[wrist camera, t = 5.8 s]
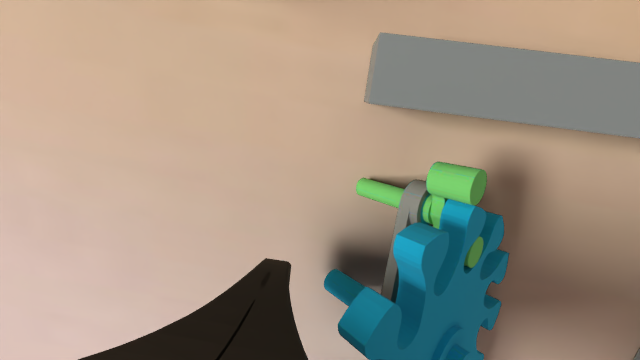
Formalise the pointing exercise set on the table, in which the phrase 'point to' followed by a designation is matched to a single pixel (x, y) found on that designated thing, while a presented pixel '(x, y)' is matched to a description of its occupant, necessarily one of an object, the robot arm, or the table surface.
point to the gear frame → (506, 85)
